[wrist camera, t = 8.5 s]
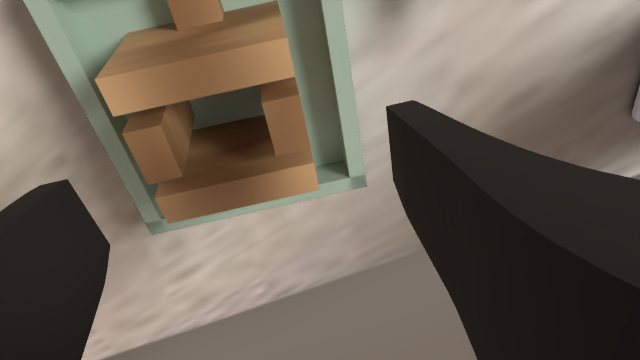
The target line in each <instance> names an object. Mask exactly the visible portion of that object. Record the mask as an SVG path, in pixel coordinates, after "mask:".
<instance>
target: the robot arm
mask: <svg viewBox="0 0 640 360" xmlns="http://www.w3.org/2000/svg"><path fill="white" fill-rule="evenodd" d="M386 111H387V121H388V132H389V142H390V152H391V162H392V172H393V181H394V183H395V186H396V189H397V191H398V194H399V197H400V200H401V202H402V205H403V207H404V210H405V212H406V215H407V217H408V219H409V221H410V222H411V224H412V226H413V228H414V230H415V232H416V234H417V235H418V237H419V239H420V241H421V243H422V245H423V247H424V248H425V250H426V252H427V254H428V256H429V258H430V259H431V261H432V263H433V265H434V267H435V268H436V270H437V272H438V274H439V276H440V278H441V279H442V281H443V283H444V285H445V287H446V288H447V290H448V292H449V295H450V296H451V298H452V301H453V303H454V305H455V307H456V309H457V311H458V314H459V316H460V318H461V321H462V323H463V326H464V328H465V330H466V333H467V335H468V338H469V340H470V343H471V345H472V347H473V350H474V352H475V355H476V357H477V360H640V180H637V179H633V178H628V177H624V176H619V175H615V174H610V173H606V172H601V171H597V170H593V169H589V168H585V167H581V166H577V165H574V164H570V163H567V162H564V161H560V160H557V159H554V158H550V157H547V156H544V155H540V154H537V153H534V152H531V151H528V150H526V149H523V148H520V147H518V146H515V145H512V144H510V143H507V142H505V141H502V140H499V139H497V138H494V137H492V136H490V135H487V134H485V133H483V132H480V131H478V130H476V129H474V128H471V127H469V126H467V125H465V124H463V123H461V122H459V121H456V120H454V119H452V118H450V117H448V116H446V115H444V114H442V113H440V112H438V111H436V110H434V109H432V108H430V107H428V106H425V105H423V104H421V103H419V102H416V101H414V100H412V101H407V102H403V103H399V104H394V105H390V106H386ZM632 117H633V119H635V120H637V121H638V122H640V86H639V90H638V93H637V97H636V100H635V104H634V107H633V111H632ZM109 250H110V244H109V243H108V241H107V239H106V238H105V236H104V235H103V233H102V232H101V230H100V229H99V227H98V226H97V224H96V223H95V221H94V219H93V218H92V216H91V215H90V213H89V212H88V210H87V209H86V207H85V206H84V204H83V203H82V201H81V199H80V198H79V196H78V195H77V193H76V192H75V190H74V189H73V187H72V186H71V184H70V183H69V181H68V179H66V180H62V181H57V182H53V183H49V184H44V185H40V186H38V187H37V188H35V189H33V190H31V191H30V192H28V193H26V194H25V195H23V196H22V197H20V198H19V199H17V200H16V201H15V202H13V203H12V204H10V205H9V206H7V207H6V208H5V209H3V210H2V211H1V212H0V360H81V358H82V355H83V352H84V349H85V346H86V343H87V340H88V336H89V333H90V330H91V327H92V324H93V321H94V318H95V314H96V311H97V308H98V305H99V301H100V298H101V295H102V291H103V288H104V284H105V279H106V273H107V267H108V259H109Z"/></svg>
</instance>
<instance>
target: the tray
mask: <svg viewBox="0 0 640 360" xmlns="http://www.w3.org/2000/svg"><path fill="white" fill-rule="evenodd" d="M23 1H24V3H25V5H26V7H27V8H28V10H29V12H30V14H31V16H32V18H33V19H34V21H35V23H36V25H37V27H38V28H39V30H40V32H41V34H42V36H43V38H44V39H45V41H46V43H47V45H48V47H49V49H50V50H51V52H52V54H53V56H54V58H55V59H56V61H57V63H58V65H59V67H60V69H61V70H62V72H63V74H64V76H65V78H66V80H67V81H68V83H69V85H70V87H71V89H72V91H73V92H74V94H75V96H76V98H77V100H78V101H79V103H80V105H81V107H82V109H83V111H84V112H85V114H86V116H87V118H88V120H89V122H90V123H91V125H92V127H93V129H94V131H95V132H96V134H97V136H98V138H99V140H100V142H101V143H102V145H103V147H104V149H105V151H106V153H107V154H108V156H109V158H110V160H111V162H112V164H113V165H114V167H115V169H116V171H117V173H118V174H119V176H120V178H121V180H122V182H123V184H124V185H125V187H126V189H127V191H128V193H129V195H130V196H131V198H132V200H133V202H134V204H135V205H136V207H137V209H138V211H139V213H140V215H141V216H142V218H143V220H144V222H145V224H146V226H147V227H148V229H149V231H150V233H151V235H153V234H158V233H162V232H167V231H171V230H176V229H180V228H184V227H189V226H193V225H198V224H202V223H207V222H211V221H216V220H220V219H224V218H229V217H233V216H238V215H242V214H247V213H251V212H256V211H260V210H264V209H269V208H273V207H278V206H282V205H287V204H291V203H295V202H300V201H304V200H309V199H313V198H318V197H322V196H327V195H331V194H335V193H340V192H344V191H349V190H353V189H358V188H362V187H367V185H366V177H365V170H364V162H363V155H362V148H361V140H360V133H359V125H358V118H357V110H356V103H355V95H354V88H353V80H352V73H351V66H350V58H349V51H348V43H347V36H346V28H345V21H344V13H343V6H342V0H277V1H278V5H279V9H280V13H281V17H282V20H283V24H284V28H285V32H286V36H287V40H288V44H289V49H290V54H291V58H292V63H293V68H294V72H295V79H296V83H297V87H298V91H299V95H300V100H301V105H302V109H303V114H304V119H305V123H306V128H307V133H308V137H309V142H310V146H311V152H312V156H313V161H314V165H315V170H316V174H317V179H318V183H319V188H320V190H317V191H313V192H308V193H304V194H299V195H295V196H291V197H286V198H282V199H277V200H273V201H268V202H264V203H259V204H255V205H251V206H246V207H242V208H237V209H233V210H228V211H224V212H219V213H215V214H211V215H206V216H202V217H197V218H193V219H188V220H184V221H179V222H175V223H171V224H168V223H167V221H166V219H165V218H164V216H163V214H162V212H161V210H160V208H159V206H158V204H157V202H156V200H155V196H156V192H157V189H158V185H159V182H158V183H153V184H149V185H148V184H147V182H146V180H145V178H144V176H143V174H142V172H141V170H140V168H139V166H138V164H137V162H136V160H135V158H134V156H133V154H132V153H131V151H130V149H129V147H128V145H127V143H126V141H125V139H124V137H123V135H122V133H123V131H124V128H125V126H126V124H127V122H128V120H129V118H130V115H131V113H128V114H123V115H119V116H114V117H113V115H112V113H111V111H110V109H109V107H108V105H107V103H106V101H105V99H104V97H103V95H102V93H101V91H100V89H99V88H98V86H97V84H96V82H95V78H96V77H97V76H98V74H99V73H100V71H101V70H102V69H103V67H104V66H105V64H106V63H107V62H108V60H109V59H110V57H111V56H112V55H113V53H114V52H115V50H116V49H117V48H118V46H119V45H120V43H121V42H122V41H123V39H124V38H125V37H126V35H127V34H128V33H129V32H134V31H138V30H143V29H147V28H152V27H157V26H161V25H166V24H170V23H175V22H174V19H173V16H172V13H171V11H170V8H169V5H168V2H167V0H23ZM272 1H276V0H221V3H222V6H223V9H224V12H226V11H230V10H235V9H239V8H244V7H249V6H253V5H258V4H262V3H267V2H272ZM189 102H190V105H191V107H192V110H193V112H194V115H195V119H194V124H193V129H192V130H196V129H200V128H205V127H209V126H214V125H218V124H223V123H227V122H232V121H237V120H241V119H246V118H250V117H255V116H259V115H264V110H263V106H262V103H261V90H260V85H255V86H250V87H246V88H241V89H237V90H232V91H228V92H223V93H219V94H214V95H210V96H205V97H201V98H196V99H191V100H189Z"/></svg>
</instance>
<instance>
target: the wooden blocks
mask: <svg viewBox="0 0 640 360" xmlns="http://www.w3.org/2000/svg"><path fill="white" fill-rule="evenodd" d="M167 2H168V5H169V8H170V11H171V13H172V16H173V19H174V22H175V23H170V24H166V25H161V26H157V27H152V28H147V29H143V30H138V31H134V32H129V33H128V34H127V35H126V37H125V38H124V39H123V41H122V42H121V43H120V45H119V46H118V48H117V49H116V50H115V52H114V53H113V55H112V56H111V57H110V59H109V60H108V62H107V63H106V64H105V66H104V67H103V69H102V70H101V71H100V73H99V74H98V76H97V77H96V78H95V82H96V84H97V86H98V88H99V89H100V91H101V93H102V95H103V97H104V99H105V101H106V103H107V105H108V107H109V109H110V111H111V113H112V115H113V117H114V116H119V115H123V114H128V113H131V115H130V118H129V120H128V122H127V124H126V126H125V128H124V131H123V133H122V135H123V137H124V139H125V141H126V143H127V145H128V147H129V149H130V151H131V153H132V154H133V156H134V158H135V160H136V162H137V164H138V166H139V168H140V170H141V172H142V174H143V176H144V178H145V180H146V182H147V184H148V185H149V184H153V183H158V182H159V185H158V189H157V192H156V196H155V200H156V202H157V204H158V206H159V208H160V210H161V212H162V214H163V216H164V218H165V219H166V221H167V223H168V224H171V223H175V222H179V221H184V220H188V219H193V218H197V217H202V216H206V215H211V214H215V213H219V212H224V211H228V210H233V209H237V208H242V207H246V206H251V205H255V204H259V203H264V202H268V201H273V200H277V199H282V198H286V197H291V196H295V195H299V194H304V193H308V192H313V191H317V190H320V188H319V183H318V179H317V174H316V170H315V165H314V161H313V156H312V152H311V146H310V142H309V137H308V133H307V128H306V123H305V119H304V114H303V109H302V105H301V100H300V95H299V91H298V87H297V83H296V79H295V72H294V68H293V63H292V58H291V54H290V49H289V44H288V40H287V36H286V32H285V28H284V24H283V20H282V17H281V13H280V9H279V5H278V1H277V0H276V1H272V2H267V3H262V4H258V5H253V6H249V7H244V8H239V9H235V10H230V11H226V12H224V9H223V6H222V3H221V0H167ZM255 85H260V90H261V103H262V106H263V110H264V115H259V116H255V117H250V118H246V119H241V120H237V121H232V122H227V123H223V124H218V125H214V126H209V127H205V128H200V129H196V130H192V129H193V124H194V119H195V115H194V112H193V110H192V107H191V105H190V102H189V100H191V99H196V98H201V97H205V96H210V95H214V94H219V93H223V92H228V91H232V90H237V89H241V88H246V87H250V86H255Z"/></svg>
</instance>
